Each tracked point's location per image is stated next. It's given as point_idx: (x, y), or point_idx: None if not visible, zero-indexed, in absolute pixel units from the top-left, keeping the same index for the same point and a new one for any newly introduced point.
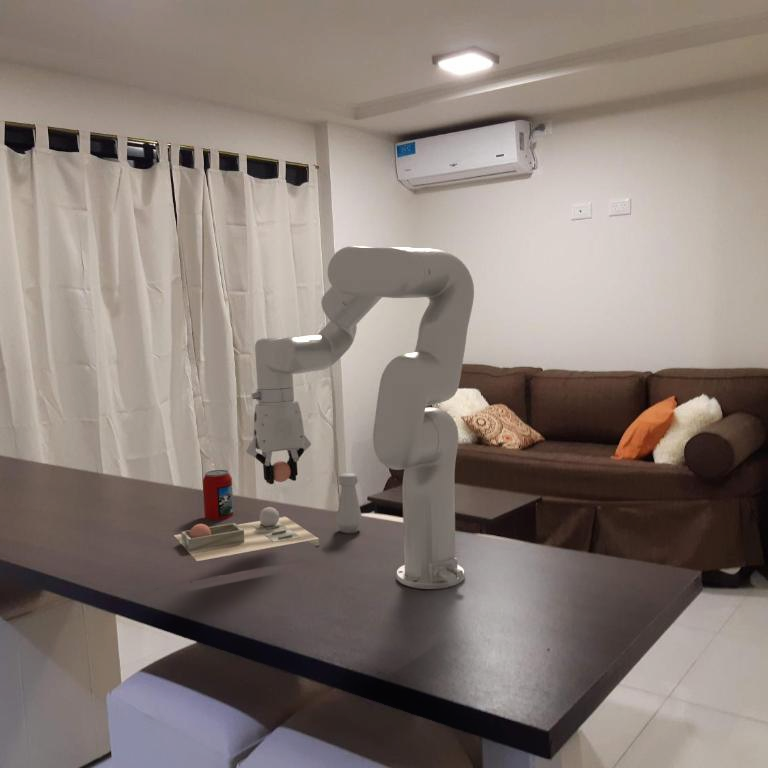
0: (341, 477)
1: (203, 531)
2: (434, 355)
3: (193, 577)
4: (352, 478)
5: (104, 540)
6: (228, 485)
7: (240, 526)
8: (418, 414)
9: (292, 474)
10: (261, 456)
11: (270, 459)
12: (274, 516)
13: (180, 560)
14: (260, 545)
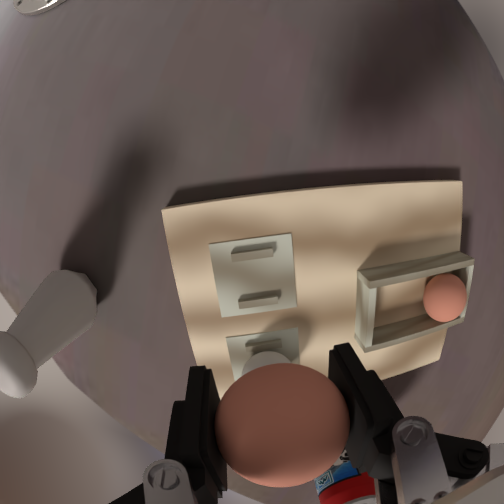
0: (13, 368)
1: (453, 282)
2: None
3: (461, 135)
4: None
5: (478, 377)
6: (335, 484)
7: None
8: None
9: (209, 391)
10: (461, 461)
11: (402, 458)
12: (259, 363)
13: (460, 245)
14: (330, 221)
